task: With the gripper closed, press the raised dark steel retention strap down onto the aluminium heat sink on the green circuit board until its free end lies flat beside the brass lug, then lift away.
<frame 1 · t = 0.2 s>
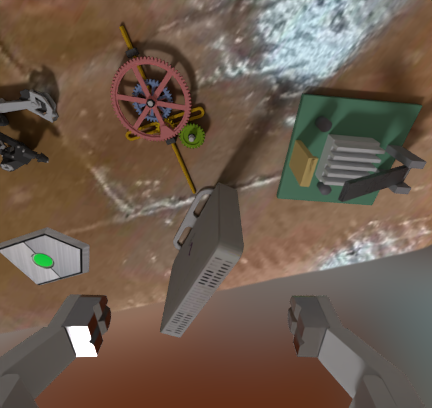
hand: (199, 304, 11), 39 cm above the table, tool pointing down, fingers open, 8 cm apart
security device: (57, 252, 65), on the table
mechanical gear assembly: (165, 122, 46), on the table
strap: (377, 181, 40), point 10 cm above the table, hinge at 30.0°
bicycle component: (28, 128, 47), on the table
network device: (202, 223, 58), on the table
board: (339, 154, 49), on the table
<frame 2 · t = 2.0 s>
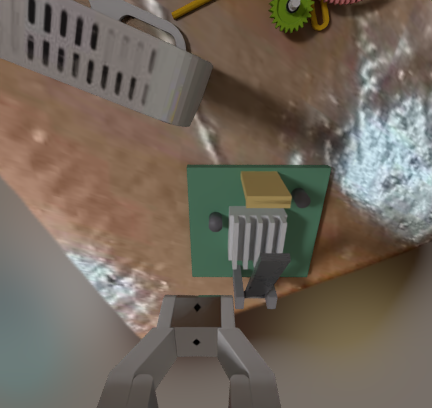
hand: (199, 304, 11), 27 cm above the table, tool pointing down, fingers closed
strap: (262, 280, 33), point 10 cm above the table, hinge at 30.0°
network device: (104, 40, 30), on the table
board: (252, 224, 41), on the table
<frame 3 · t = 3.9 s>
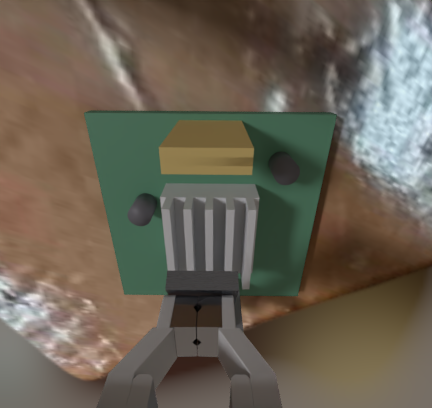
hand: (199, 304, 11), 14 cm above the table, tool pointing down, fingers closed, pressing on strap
strap: (207, 314, 18), point 10 cm above the table, hinge at 29.7°, touching gripper
board: (210, 215, 26), on the table
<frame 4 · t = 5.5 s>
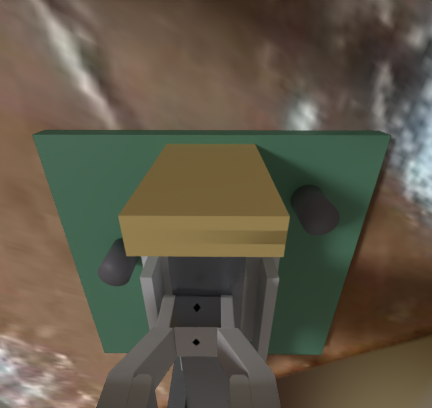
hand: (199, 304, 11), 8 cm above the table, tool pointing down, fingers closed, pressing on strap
strap: (209, 356, 14), point 7 cm above the table, hinge at 3.5°, touching gripper
board: (212, 260, 20), on the table
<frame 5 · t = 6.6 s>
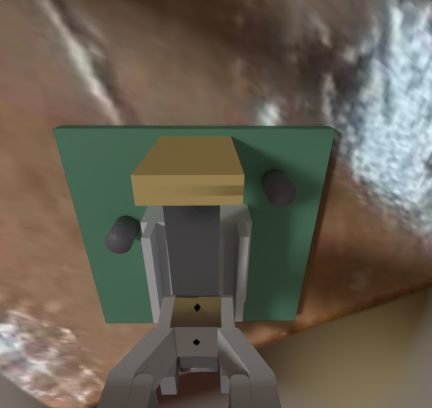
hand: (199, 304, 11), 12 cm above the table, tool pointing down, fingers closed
strap: (196, 303, 18), point 7 cm above the table, hinge at 3.4°
board: (199, 236, 24), on the table
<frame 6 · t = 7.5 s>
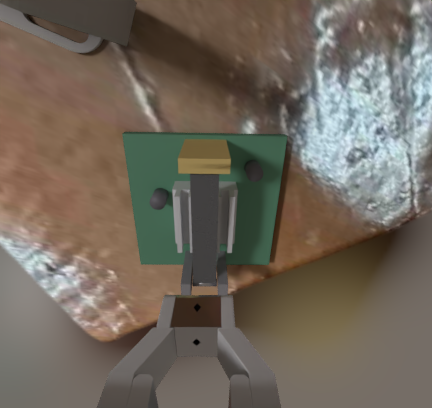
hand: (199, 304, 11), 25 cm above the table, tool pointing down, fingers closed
strap: (204, 236, 31), point 7 cm above the table, hinge at 3.4°
board: (205, 204, 37), on the table
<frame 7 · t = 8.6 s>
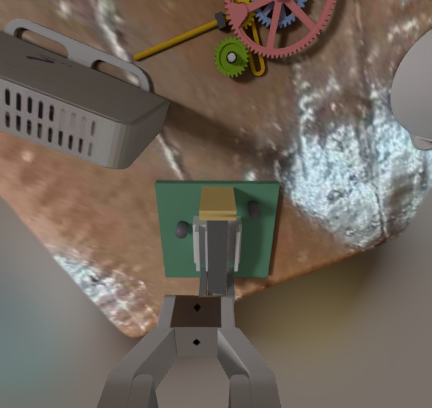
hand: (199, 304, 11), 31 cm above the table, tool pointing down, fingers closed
mechanical gear assembly: (243, 12, 32), on the table
strap: (217, 260, 41), point 7 cm above the table, hinge at 3.4°
network device: (80, 78, 35), on the table
board: (217, 231, 47), on the table
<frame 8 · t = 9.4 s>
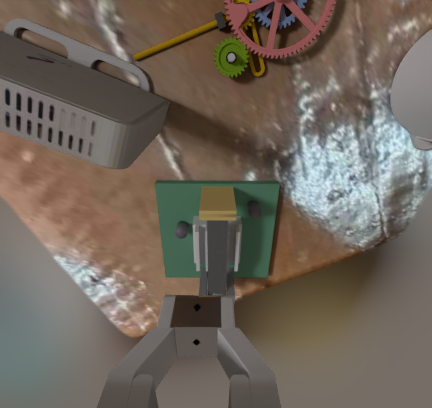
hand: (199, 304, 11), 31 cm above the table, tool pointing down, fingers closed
mechanical gear assembly: (243, 13, 32), on the table
strap: (217, 260, 41), point 7 cm above the table, hinge at 3.4°
network device: (80, 78, 35), on the table
board: (217, 231, 47), on the table
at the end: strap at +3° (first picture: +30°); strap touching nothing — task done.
